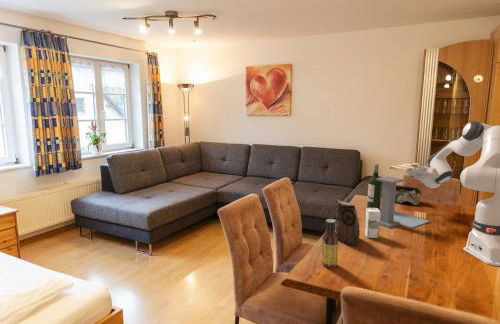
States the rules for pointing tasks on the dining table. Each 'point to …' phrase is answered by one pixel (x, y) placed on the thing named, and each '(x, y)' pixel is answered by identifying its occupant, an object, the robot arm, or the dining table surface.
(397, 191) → the hollow geode rock
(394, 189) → the pedestal
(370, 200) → the wine bottle
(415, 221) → the mat
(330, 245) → the sauce bottle
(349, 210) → the black speaker
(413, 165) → the board
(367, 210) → the syrup box
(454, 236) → the dining table surface
